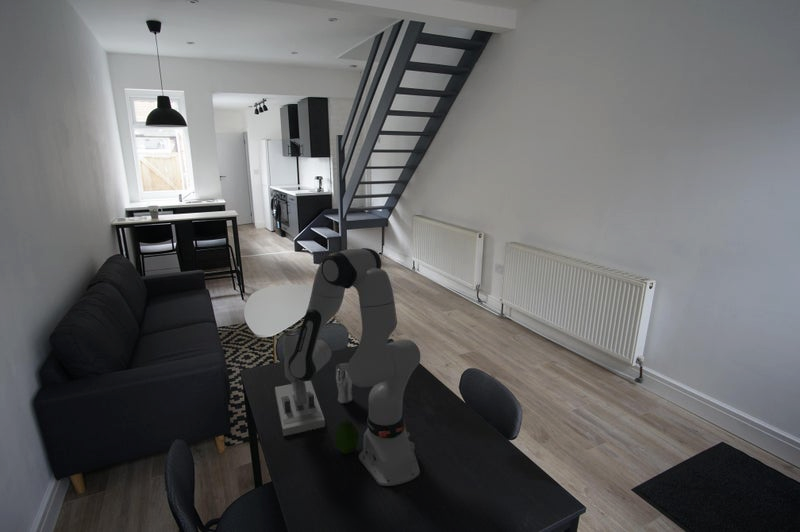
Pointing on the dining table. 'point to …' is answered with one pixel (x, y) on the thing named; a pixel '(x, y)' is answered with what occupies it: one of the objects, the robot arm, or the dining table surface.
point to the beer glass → (343, 383)
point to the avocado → (347, 437)
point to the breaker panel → (298, 410)
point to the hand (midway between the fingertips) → (298, 402)
